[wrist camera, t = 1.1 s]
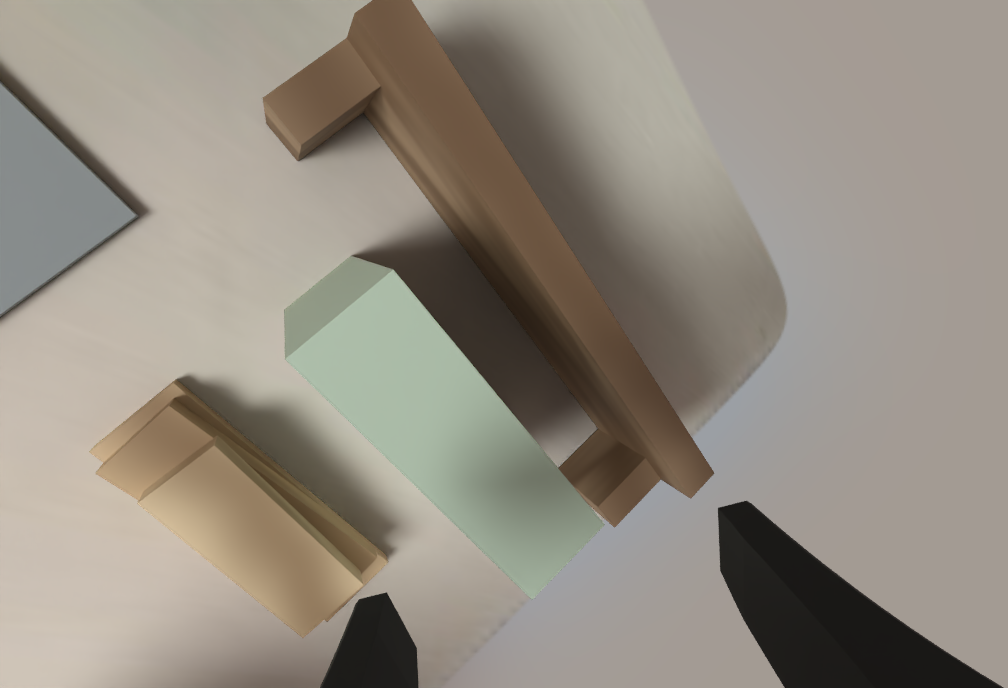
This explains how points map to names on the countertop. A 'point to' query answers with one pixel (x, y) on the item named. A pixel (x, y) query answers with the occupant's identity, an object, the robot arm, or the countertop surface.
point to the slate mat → (46, 204)
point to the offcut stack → (238, 508)
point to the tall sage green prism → (436, 420)
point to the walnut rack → (497, 240)
